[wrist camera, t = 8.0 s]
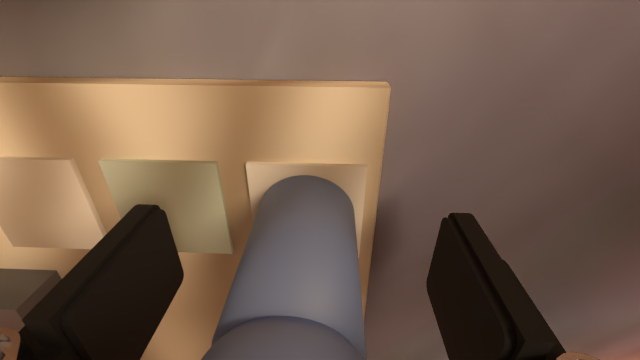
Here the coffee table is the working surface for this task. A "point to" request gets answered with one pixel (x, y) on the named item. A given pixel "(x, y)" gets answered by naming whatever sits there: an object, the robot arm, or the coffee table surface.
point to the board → (178, 172)
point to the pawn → (296, 280)
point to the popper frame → (22, 293)
